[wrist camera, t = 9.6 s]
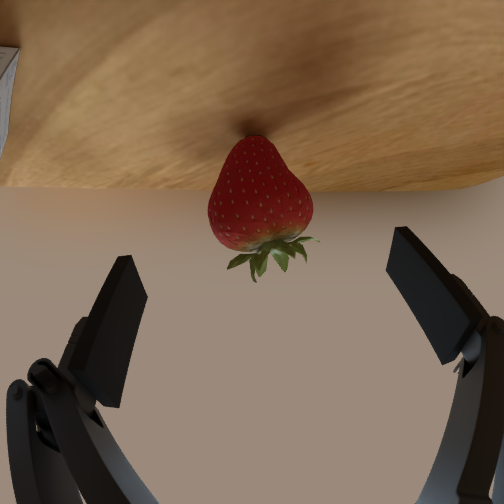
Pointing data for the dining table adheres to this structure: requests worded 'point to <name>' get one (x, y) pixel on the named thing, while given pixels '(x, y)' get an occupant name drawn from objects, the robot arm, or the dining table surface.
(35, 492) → the robot arm
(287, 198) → the fruit
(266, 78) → the dining table surface
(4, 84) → the light bulb box
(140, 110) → the dining table surface
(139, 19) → the dining table surface
